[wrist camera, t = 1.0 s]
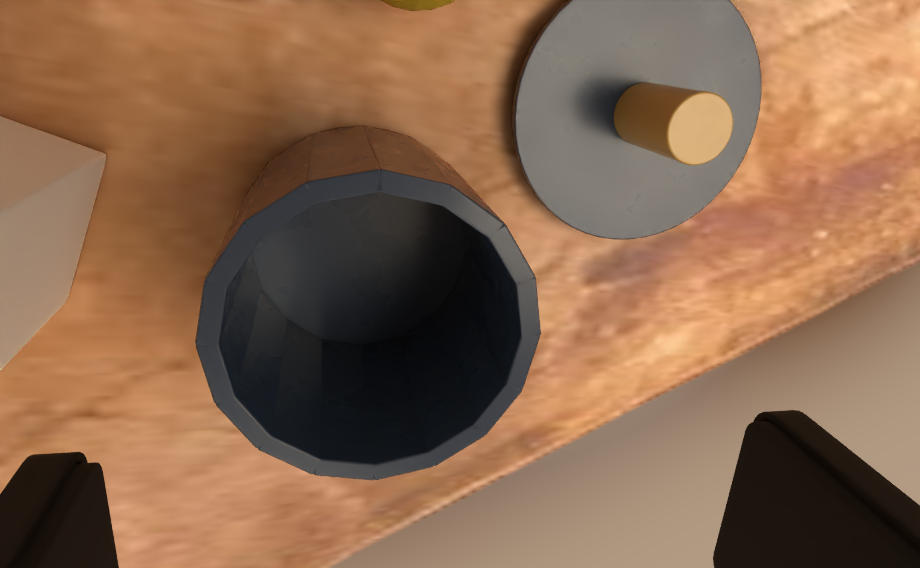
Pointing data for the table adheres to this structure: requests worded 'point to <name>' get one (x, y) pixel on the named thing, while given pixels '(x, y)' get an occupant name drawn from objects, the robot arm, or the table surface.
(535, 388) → the table surface
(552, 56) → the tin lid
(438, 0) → the lemon
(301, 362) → the tin
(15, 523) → the robot arm
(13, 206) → the milk carton
